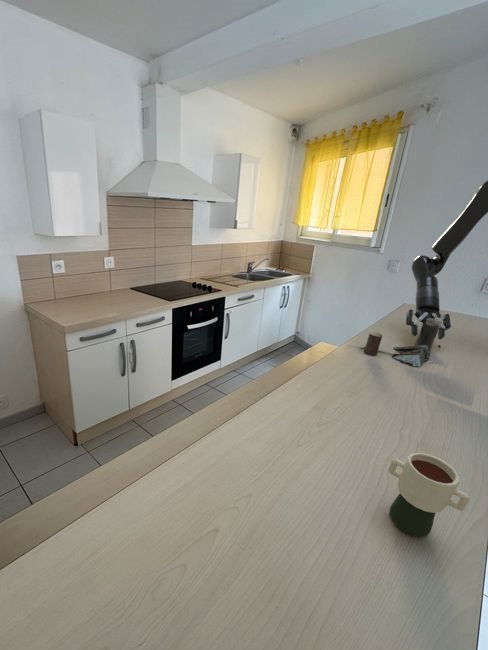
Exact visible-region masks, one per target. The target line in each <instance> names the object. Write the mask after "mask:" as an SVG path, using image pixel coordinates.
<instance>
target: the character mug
mask: <svg viewBox="0 0 488 650" xmlns="http://www.w3.org/2000/svg"><path fill="white" fill-rule="evenodd" d="M397 467H399V468H401V469H402V470H401V472H399V471H397V470H396V469H397ZM387 471H388V473H389V474H390V475H391V476H394V477H395V478H397V479H398V481H397V488H398V492H399V494H398V495H397V496H396V498H395V499H394V501H393V502H392V504H391V505H390V506H389V516H390V518H391V520H392V522H393V523H394V524H395V525H396V527H397V528H398V529H400V530H401V531H402V532H404V533H406V534H407V535H410V536H414V537H417V538H422V537H427V536H428V535H429V534H430V533H431V531H432V529H433V525H434V520H435V516H436V514H437V513H441V512H443V511H444V510H445V509H446V508H447V507H448V506H450V507H452V508H453V509H455V510H457V511H460V512H462V511H464V510H465V509H466V507H467V505H468V503H469V502H470V496H469V495H468V494H467V493H466V492H463V491H462V490H459V489H458V486H459V484H460V476H459V474H458V473H457V471H456V470H455V468H454V467H452V466H451V464H449V463H447V462H446V461H444V460H443V459H441V458H439V457H438V456H435V455H432V454H430V453H429V454H428V453H424V452H414V453H413V452H412V453H411V454H410V455H408V456H407V458H406V460H405V462H403V461H402V460H400V459H397V458H392V459H391V461H390V464H389V466H388V470H387ZM453 496H456V497H458V498H459V500H458V502H457V501H454V500H453V499H452V498H453Z"/></svg>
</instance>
